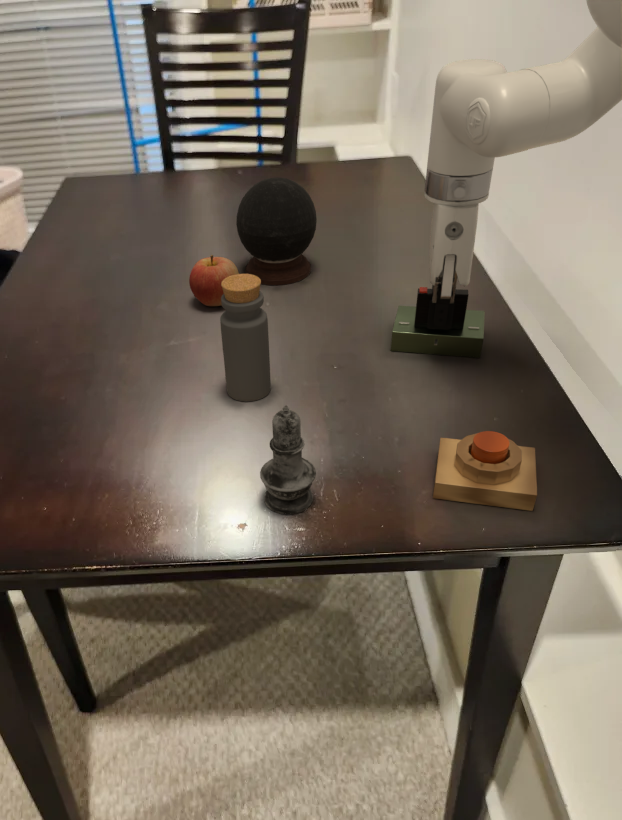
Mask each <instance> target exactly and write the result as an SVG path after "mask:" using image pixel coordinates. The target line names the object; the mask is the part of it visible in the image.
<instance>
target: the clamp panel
mask: <svg viewBox="0 0 622 820" xmlns="http://www.w3.org/2000/svg"><path fill="white" fill-rule="evenodd" d="M415 312H416V306H411V305H398V307H397V311H396V314H395V317H394V322H393V326H392V327H393V328H392V330H391V341H390V352H398V353H413V354H425V355H437V356H450V357H462V358H473V359H475V358H476V359H480V358H481V354H482V348H483V343H484V338H485V337H484V336H485V334H484V332H485V317H486V316H485V313H486V312H485V310H474V309H466V315H465V321H464V327H463V329H449V330H440V329H428V328H415V327H414V321H415Z"/></svg>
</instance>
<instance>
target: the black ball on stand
mask: <svg viewBox="0 0 622 820" xmlns="http://www.w3.org/2000/svg"><path fill="white" fill-rule="evenodd" d="M237 208H238V209H237V212H236V229H237V230H236V231H237V235H238V238H239V239H240V242H241V244H242V246H243V247H244V249H245V250H246V251H247V253H249V254H250V255H251V256H252V257H251V258H250V259H249V261H248V263H247V264H246V266H245V274H252V275H255V276H257V277H259V278H260V280H261V285H265V286H283V285H284V286H285V285H289V284H294V283H297V282H300V281H302V280H304V279H306V278H307V277H308V276H309V275H310V274H311V268H312V267H311V262H310V261H309V260H308V259H307V256H305V255H304V253H305V252H306V250H307V249H308V247H309V246H310V245H311V242H312V241H313V239H314V237H315V233H316V230H317V221H318V220H317V210H316V207H315V204H314V201H313V199H312V197H311V196H310V194H309V192H307V191H306V189H305V188H304V187H303V186H301V185H300V184H299V183H297V182H296V181H294V180H292V179H289V178H285V177H269V178H263V180H260V181H258V182H257V183H255V184H254V185H252V186H251V187H249V189H248V191H246V193H245V194H244V195H243V197H242V198H241V201H240V203H239V205H238V207H237Z"/></svg>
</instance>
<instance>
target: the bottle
mask: <svg viewBox="0 0 622 820" xmlns="http://www.w3.org/2000/svg"><path fill="white" fill-rule="evenodd" d="M261 285H262V284H261V280H260V278H259V277H257V276H255V275H252V274H246V273H239V274H236V275H231V276H229V277H227V278H225V279H224V280H223V281H222V283H221V286H222V289H223V292H224V294H223V295H222V297H221V303H222V306H221V307H222V308H223V309H224V311H222V313H221V315H220V316H219V317H220V318H219V321H220V322H219V323H220V334H221V345H222V354H223V355H222V357H223V363H224V364H223V365H224V375H225V385H226V392H227V394H228V396H229V397H230V398H231V399H233V400H235V401H239V402H255V401H259V400H262V399H263V398H265V397H266V396H268V395H269V393H271V387H272V386H271V385H272V384H271V359H270V337H269V320H268V314H267V312H266V311H265V310H264V309H263V308H262V306H263V305H264V302H265V301H264V294H263V293H264V292H262V291H261Z"/></svg>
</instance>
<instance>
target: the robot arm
mask: <svg viewBox="0 0 622 820" xmlns="http://www.w3.org/2000/svg"><path fill="white" fill-rule="evenodd" d="M585 1H586V6H587V9H588V11H589V14H590V16H591V18H592V20H593V22H594V24H595V25H596V27H595V29H594V30H592V32H591V33H590V34H589V35H588V36H587V37H586V38H585V39H584V40H583V41H582V42H581V43H580V44H579V45H578V46H577V47H576V48H575V49H574V50H573V51H572V52H570V54H569V55H567V56H566V57H565V58H564V59H562V60H561V61H557V62H552V63H546V64H540V65H535V66H531V67H526V68H521V69H519V70H513V71H507V69H506V66H505V65H503V63H501V62H499V61H496V60H493V59H483V58H471V59H470V58H469V59H468V58H467V59H460V60H455V61H451V62H449V63H447V64H445V65H443V66H442V68H441V69H440V70H439V72H438V74H437V76H436V80H435V87H434V94H433V95H434V97H433V107H432V115H431V125H430V134H429V144H428V153H427V162H426V163H427V164H426V175H425V183H424V192H423V194H424V195H423V197H424V198H425V200H427V201H428V202H430V203H432V212H431V223H430V233H429V252H428V253H429V254H428V261H429V262H428V263H429V282H430V284H431V289H433V297H432V300H430V305H429V313H428V321H427V328H428V329H440V330H449V329H451V327H452V320H453V313H454V306H455V300H454V298H455V291H456V289H457V285H458V283H459V286H463V287H467V286H468V285H469V284H470V282H471V273H472V266H473V257H474V250H475V244H476V236H477V235H476V234H477V228H478V217H479V205H480V204H481V203H484V202H485V201H487V200H488V198H489V195H490V188H491V183H492V177H493V171H494V165H495V159H496V158H501V157H506V156H510V155H514V154H515V155H516V154H518V153H523V152H525V151H528V150H532V149H535V148H541V147H544V146H549V145H553V144H557V143H561V142H566V141H567V140H570V139H572V138H574V137H577V136H578V135H580V134H581V133H584V132H585V131H586V130H587V129H589V128H590V127H591V126H593V125H595V124H596V123H597V122H598V121H599V120H600V119H601V118H602V117H604V116H605V115H606V114H607V113H609V112H610V111H611V110H613V108H615V106H617V105H618V104H619V103H620V102H621V101H622V0H585ZM457 282H458V283H457Z"/></svg>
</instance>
